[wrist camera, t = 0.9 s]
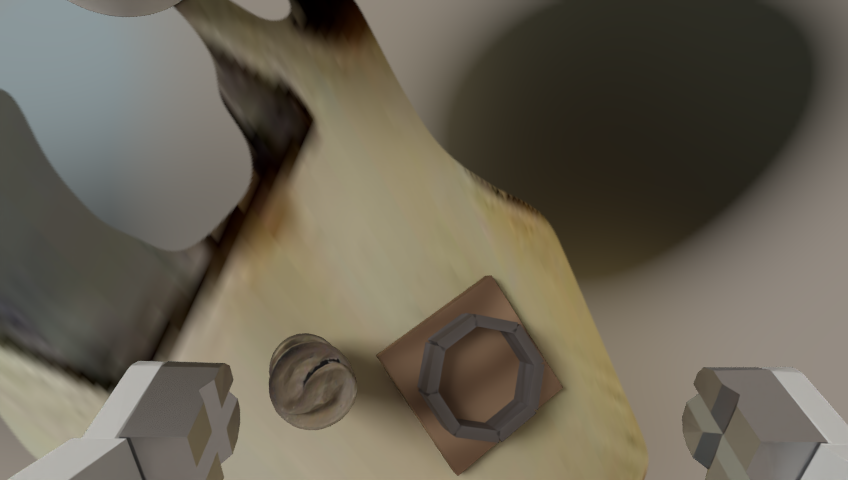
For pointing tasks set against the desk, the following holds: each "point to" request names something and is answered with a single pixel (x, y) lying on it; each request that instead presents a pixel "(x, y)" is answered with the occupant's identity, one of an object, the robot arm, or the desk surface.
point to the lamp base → (470, 373)
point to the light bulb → (311, 382)
